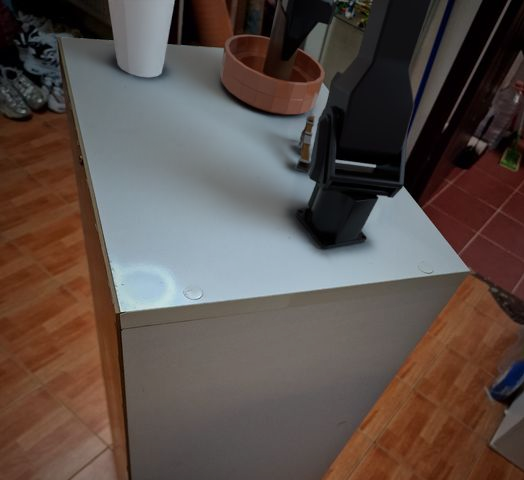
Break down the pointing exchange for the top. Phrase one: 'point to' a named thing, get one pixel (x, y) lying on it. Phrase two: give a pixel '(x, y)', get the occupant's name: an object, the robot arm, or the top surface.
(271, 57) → the brown cylinder
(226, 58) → the bowl
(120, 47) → the foam cup
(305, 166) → the wooden post with brackets
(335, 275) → the top surface
